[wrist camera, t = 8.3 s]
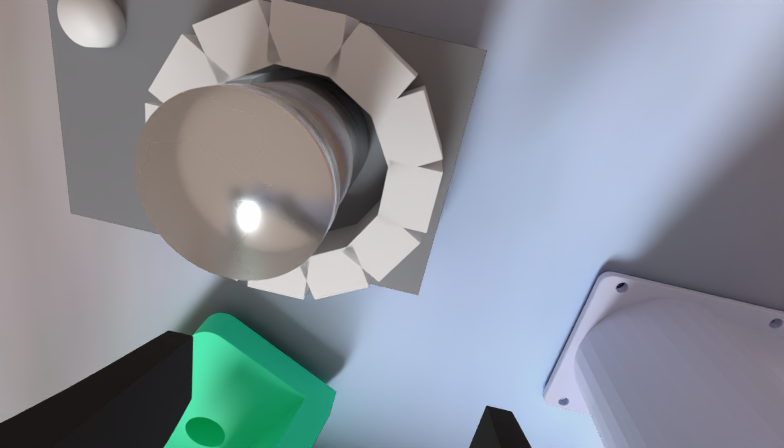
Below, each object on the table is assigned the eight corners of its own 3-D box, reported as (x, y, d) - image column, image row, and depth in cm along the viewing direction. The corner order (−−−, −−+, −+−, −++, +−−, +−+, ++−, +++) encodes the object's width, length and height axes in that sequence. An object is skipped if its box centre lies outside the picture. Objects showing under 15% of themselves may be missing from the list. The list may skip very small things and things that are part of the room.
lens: (387, 96, 13) (354, 126, 8) (354, 211, 15) (308, 303, 9) (263, 55, 13) (139, 56, 8) (243, 176, 15) (130, 248, 9)
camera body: (476, 51, 16) (496, 49, 11) (420, 254, 19) (415, 326, 14) (121, -32, 16) (-26, -72, 11) (131, 186, 19) (23, 233, 14)
